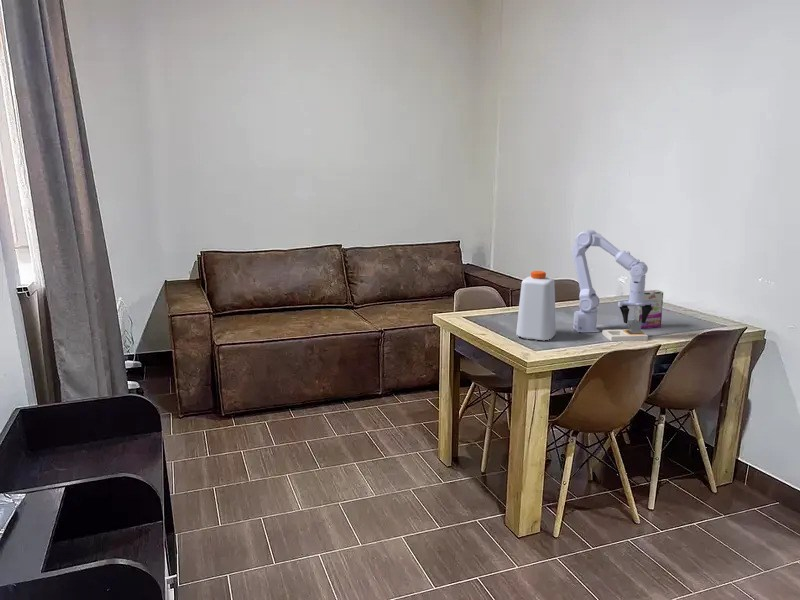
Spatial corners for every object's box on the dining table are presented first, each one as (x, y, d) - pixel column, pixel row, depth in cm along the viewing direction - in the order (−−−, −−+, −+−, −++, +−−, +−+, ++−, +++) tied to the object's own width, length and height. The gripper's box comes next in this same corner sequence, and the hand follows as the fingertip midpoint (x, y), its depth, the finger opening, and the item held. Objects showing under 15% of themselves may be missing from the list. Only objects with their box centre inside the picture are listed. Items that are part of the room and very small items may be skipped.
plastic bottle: (549, 343, 248) (552, 276, 242) (513, 338, 255) (515, 273, 248) (557, 333, 261) (560, 270, 255) (523, 329, 268) (525, 267, 261)
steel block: (630, 338, 252) (632, 322, 251) (627, 336, 256) (628, 320, 255) (640, 338, 252) (641, 322, 251) (636, 335, 256) (637, 320, 255)
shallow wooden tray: (611, 341, 249) (611, 336, 249) (602, 334, 259) (602, 329, 258) (647, 340, 250) (648, 335, 249) (637, 333, 260) (637, 328, 259)
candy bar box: (654, 324, 273) (657, 289, 269) (661, 327, 268) (664, 291, 265) (632, 326, 271) (634, 290, 267) (638, 329, 266) (641, 293, 262)
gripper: (623, 293, 246) (621, 325, 249) (658, 293, 246) (655, 324, 250) (617, 290, 253) (614, 321, 256) (650, 289, 253) (647, 320, 256)
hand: (634, 322), depth 253 cm, fingers open, 7 cm apart
